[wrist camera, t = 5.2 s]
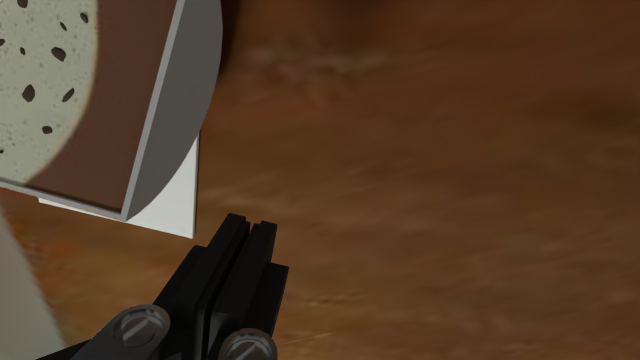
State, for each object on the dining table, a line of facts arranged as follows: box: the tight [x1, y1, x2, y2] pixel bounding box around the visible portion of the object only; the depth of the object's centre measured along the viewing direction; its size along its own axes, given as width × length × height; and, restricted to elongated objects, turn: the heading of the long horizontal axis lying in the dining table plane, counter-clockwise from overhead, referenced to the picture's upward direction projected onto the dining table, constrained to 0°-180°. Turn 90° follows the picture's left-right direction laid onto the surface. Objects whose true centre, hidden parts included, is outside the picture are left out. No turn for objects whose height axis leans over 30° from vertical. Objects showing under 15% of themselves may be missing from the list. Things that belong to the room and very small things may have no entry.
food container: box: [0, 0, 223, 222], centre depth 14 cm, size 12×6×10 cm
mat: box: [39, 133, 199, 238], centre depth 19 cm, size 10×11×1 cm
